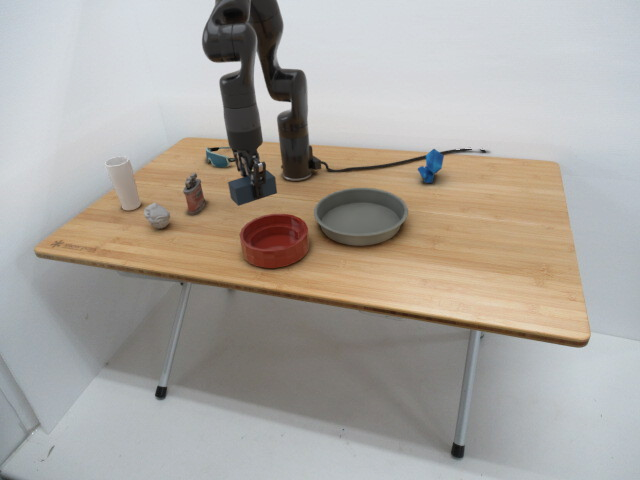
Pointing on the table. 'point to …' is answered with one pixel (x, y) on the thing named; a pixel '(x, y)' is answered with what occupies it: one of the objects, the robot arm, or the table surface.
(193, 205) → the lighter
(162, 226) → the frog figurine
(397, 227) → the cake pan
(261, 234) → the bowl
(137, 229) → the table surface
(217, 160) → the sunglasses
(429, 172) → the crystal
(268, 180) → the blue rectangular block
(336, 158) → the table surface
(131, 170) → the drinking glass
